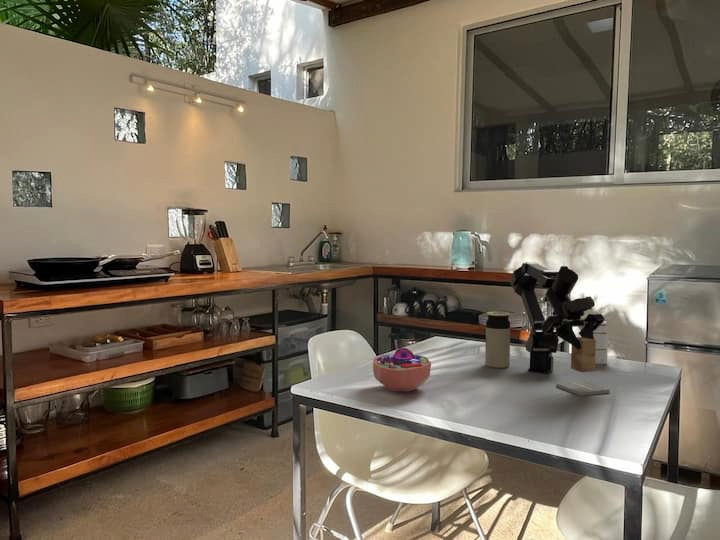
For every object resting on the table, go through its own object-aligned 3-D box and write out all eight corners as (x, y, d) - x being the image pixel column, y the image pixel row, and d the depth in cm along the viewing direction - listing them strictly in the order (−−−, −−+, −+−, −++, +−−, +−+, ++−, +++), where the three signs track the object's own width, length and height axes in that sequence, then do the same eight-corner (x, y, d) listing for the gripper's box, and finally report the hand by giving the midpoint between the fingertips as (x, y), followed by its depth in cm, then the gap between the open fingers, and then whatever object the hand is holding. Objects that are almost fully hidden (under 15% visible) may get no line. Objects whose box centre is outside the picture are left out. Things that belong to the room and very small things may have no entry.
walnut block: (570, 368, 158) (571, 337, 157) (583, 367, 159) (584, 336, 159) (581, 372, 154) (582, 340, 153) (594, 371, 155) (595, 339, 155)
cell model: (362, 395, 151) (362, 354, 150) (384, 378, 169) (384, 342, 169) (422, 402, 145) (422, 359, 144) (438, 383, 164) (438, 345, 163)
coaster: (556, 386, 160) (556, 383, 160) (584, 383, 163) (584, 380, 163) (580, 396, 150) (580, 392, 150) (609, 392, 154) (609, 389, 154)
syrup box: (607, 364, 189) (608, 322, 188) (589, 363, 190) (590, 321, 189) (603, 360, 194) (605, 320, 194) (586, 360, 196) (587, 319, 195)
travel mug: (512, 365, 188) (513, 312, 186) (505, 369, 181) (506, 315, 180) (489, 362, 192) (490, 310, 191) (481, 366, 185) (482, 313, 184)
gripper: (548, 288, 156) (574, 333, 146) (601, 286, 162) (629, 329, 152) (530, 311, 164) (554, 356, 154) (581, 309, 170) (607, 351, 160)
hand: (586, 347), depth 155 cm, fingers closed on walnut block, 4 cm apart
